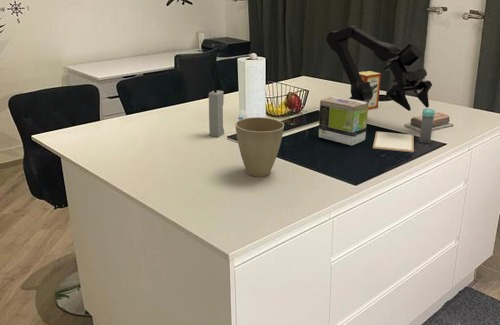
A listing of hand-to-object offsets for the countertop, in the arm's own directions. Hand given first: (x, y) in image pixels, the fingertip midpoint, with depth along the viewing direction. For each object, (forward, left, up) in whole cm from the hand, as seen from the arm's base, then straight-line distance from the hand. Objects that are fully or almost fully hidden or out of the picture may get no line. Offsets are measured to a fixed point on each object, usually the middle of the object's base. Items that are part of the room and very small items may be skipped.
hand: (419, 108), depth 196 cm
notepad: (-8, -7, -11) cm, 16 cm away
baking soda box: (-22, +38, -12) cm, 45 cm away
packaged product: (+5, +17, -12) cm, 21 cm away
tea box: (-27, -9, -12) cm, 31 cm away
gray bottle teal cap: (+3, -3, -11) cm, 12 cm away
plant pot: (-48, -50, -12) cm, 70 cm away
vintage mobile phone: (-73, -19, -12) cm, 76 cm away
